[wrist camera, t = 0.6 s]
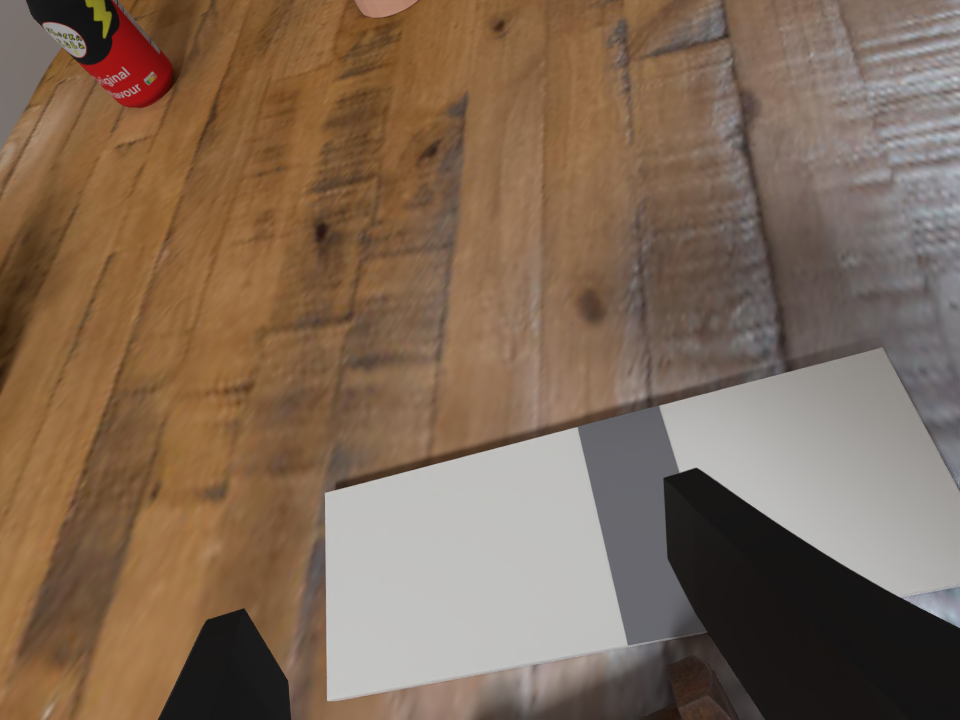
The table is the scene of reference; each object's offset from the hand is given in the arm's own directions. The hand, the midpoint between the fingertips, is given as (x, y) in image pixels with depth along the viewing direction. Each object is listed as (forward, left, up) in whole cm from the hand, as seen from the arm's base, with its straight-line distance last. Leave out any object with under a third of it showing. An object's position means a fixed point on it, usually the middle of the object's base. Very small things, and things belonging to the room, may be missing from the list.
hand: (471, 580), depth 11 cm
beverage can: (+56, +33, -20) cm, 68 cm away
